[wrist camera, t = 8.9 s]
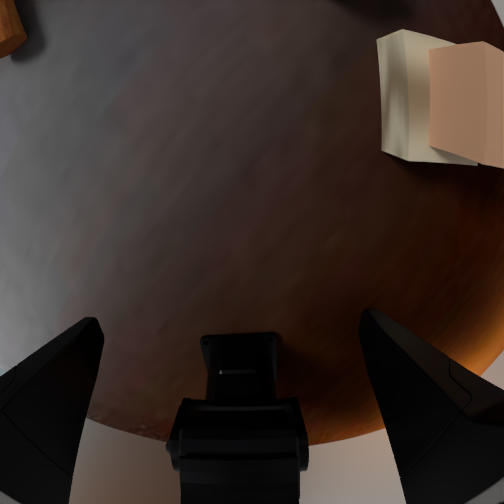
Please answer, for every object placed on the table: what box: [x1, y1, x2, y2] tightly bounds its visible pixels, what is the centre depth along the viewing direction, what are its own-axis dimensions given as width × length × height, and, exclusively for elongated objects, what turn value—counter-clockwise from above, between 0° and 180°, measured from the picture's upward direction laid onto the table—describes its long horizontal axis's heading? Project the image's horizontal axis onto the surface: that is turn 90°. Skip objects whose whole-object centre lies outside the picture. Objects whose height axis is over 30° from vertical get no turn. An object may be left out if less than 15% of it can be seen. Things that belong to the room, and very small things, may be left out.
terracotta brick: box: [428, 41, 504, 168], centre depth 11 cm, size 6×4×5 cm, turn 2°
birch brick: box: [377, 29, 478, 166], centre depth 15 cm, size 8×6×4 cm
